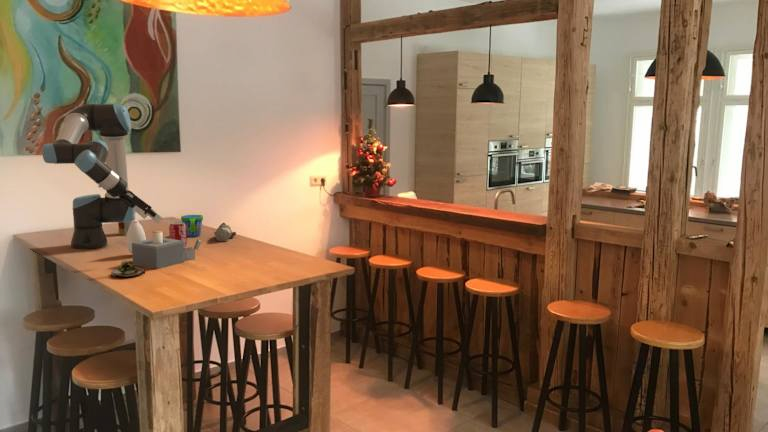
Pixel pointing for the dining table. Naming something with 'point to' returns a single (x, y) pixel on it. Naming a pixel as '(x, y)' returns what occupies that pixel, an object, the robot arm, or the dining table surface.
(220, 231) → the ceramic sculpture
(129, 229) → the sauce bottle
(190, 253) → the lighter
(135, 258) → the gray square-hole box
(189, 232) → the snack cup
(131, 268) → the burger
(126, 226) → the canned food
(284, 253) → the dining table surface
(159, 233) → the coin roll
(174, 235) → the soda can
